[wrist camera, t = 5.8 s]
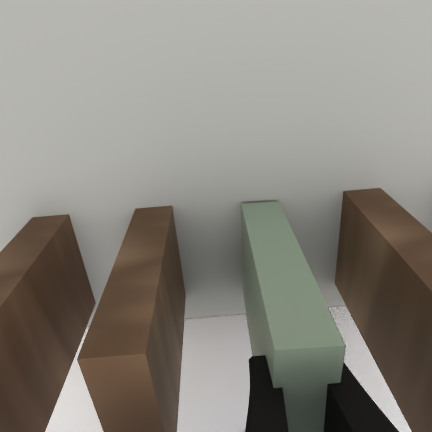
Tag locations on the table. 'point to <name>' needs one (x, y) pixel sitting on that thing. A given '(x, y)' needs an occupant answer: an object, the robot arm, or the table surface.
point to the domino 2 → (139, 330)
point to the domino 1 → (40, 319)
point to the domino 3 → (390, 294)
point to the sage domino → (288, 316)
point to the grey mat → (212, 124)
